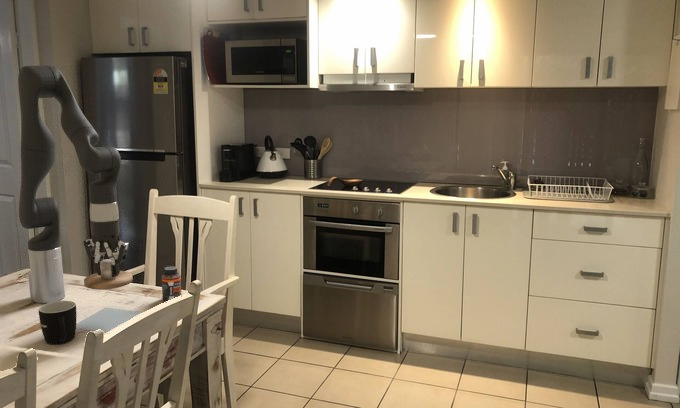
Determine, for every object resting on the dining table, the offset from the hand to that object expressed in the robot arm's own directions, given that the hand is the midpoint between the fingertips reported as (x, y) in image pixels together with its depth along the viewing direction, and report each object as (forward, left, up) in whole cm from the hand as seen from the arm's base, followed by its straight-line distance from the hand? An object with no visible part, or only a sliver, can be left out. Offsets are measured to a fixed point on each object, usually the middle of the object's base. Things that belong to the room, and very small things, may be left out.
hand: (108, 275), depth 163 cm
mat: (0, 0, -14) cm, 14 cm away
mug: (-4, -16, -15) cm, 22 cm away
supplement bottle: (+8, +20, -15) cm, 26 cm away
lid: (0, 0, -2) cm, 2 cm away
